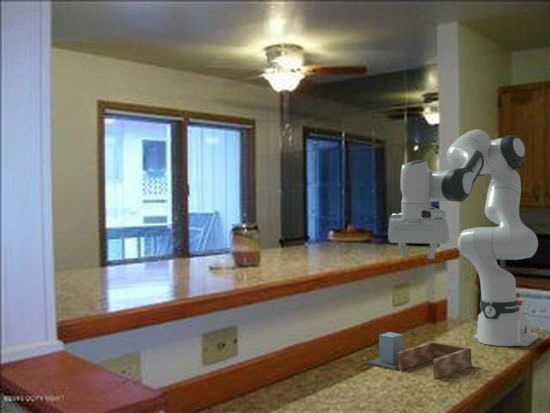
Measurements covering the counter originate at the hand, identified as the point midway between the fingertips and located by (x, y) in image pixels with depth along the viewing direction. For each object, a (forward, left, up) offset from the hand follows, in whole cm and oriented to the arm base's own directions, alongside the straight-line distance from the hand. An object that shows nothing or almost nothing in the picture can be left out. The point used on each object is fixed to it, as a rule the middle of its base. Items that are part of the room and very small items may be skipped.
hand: (418, 257), depth 174 cm
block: (+9, -4, -30) cm, 32 cm away
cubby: (+6, +8, -31) cm, 33 cm away
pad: (+10, -4, -31) cm, 33 cm away
